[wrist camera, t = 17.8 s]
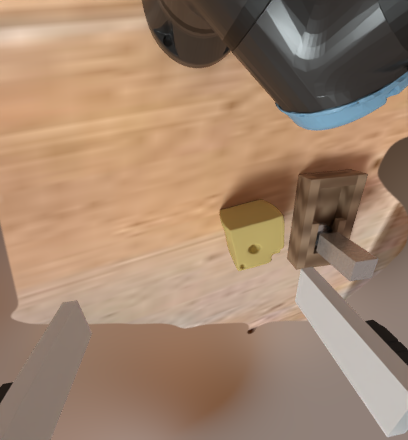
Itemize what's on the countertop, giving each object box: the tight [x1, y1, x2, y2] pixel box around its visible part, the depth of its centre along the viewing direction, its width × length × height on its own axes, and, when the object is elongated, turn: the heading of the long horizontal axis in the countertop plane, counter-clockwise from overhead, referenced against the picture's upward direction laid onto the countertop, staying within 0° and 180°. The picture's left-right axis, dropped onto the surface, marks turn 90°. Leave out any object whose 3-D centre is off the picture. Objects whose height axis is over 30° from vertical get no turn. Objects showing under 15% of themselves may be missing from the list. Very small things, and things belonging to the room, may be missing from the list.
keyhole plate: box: [287, 170, 368, 270], centre depth 47 cm, size 22×12×4 cm, turn 4°
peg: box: [315, 222, 378, 281], centre depth 44 cm, size 6×6×14 cm
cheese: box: [220, 199, 284, 271], centre depth 43 cm, size 10×11×10 cm
